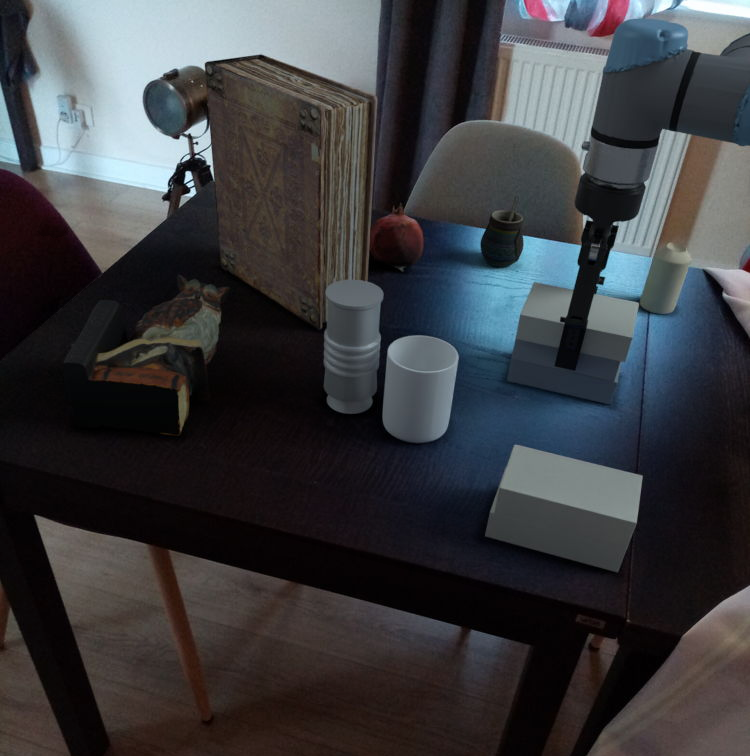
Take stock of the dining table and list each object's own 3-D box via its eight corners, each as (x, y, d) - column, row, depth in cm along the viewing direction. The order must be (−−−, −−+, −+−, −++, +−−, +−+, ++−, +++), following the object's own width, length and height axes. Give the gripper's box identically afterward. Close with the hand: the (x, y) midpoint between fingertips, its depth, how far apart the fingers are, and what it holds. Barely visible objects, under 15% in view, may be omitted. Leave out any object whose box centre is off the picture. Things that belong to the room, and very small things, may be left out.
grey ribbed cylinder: (339, 380, 104) (342, 274, 94) (385, 395, 102) (394, 289, 92) (312, 404, 99) (313, 296, 89) (360, 422, 97) (366, 312, 87)
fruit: (405, 281, 127) (410, 221, 120) (356, 265, 130) (359, 205, 124) (432, 262, 133) (439, 203, 126) (385, 247, 136) (389, 189, 130)
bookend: (55, 368, 86) (117, 250, 103) (80, 440, 94) (134, 319, 111) (188, 374, 86) (228, 255, 103) (202, 446, 94) (237, 324, 111)
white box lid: (632, 326, 105) (639, 302, 103) (625, 362, 98) (632, 337, 96) (529, 305, 108) (534, 281, 106) (515, 338, 101) (520, 314, 98)
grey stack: (616, 374, 109) (630, 330, 104) (610, 405, 103) (624, 359, 99) (518, 353, 112) (527, 308, 107) (506, 381, 106) (516, 335, 102)
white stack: (624, 523, 86) (643, 474, 81) (617, 572, 80) (636, 523, 75) (500, 490, 89) (511, 441, 84) (484, 536, 83) (495, 486, 78)
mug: (389, 387, 103) (395, 316, 97) (451, 394, 103) (462, 324, 96) (377, 440, 94) (383, 367, 88) (445, 449, 94) (456, 376, 87)
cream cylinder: (649, 315, 123) (669, 254, 116) (633, 299, 127) (651, 239, 120) (680, 313, 124) (701, 253, 118) (663, 297, 128) (682, 238, 121)
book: (366, 312, 118) (378, 96, 98) (319, 331, 113) (322, 107, 93) (266, 253, 132) (259, 52, 112) (220, 267, 127) (204, 60, 107)
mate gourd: (474, 266, 133) (482, 207, 126) (482, 249, 138) (491, 192, 131) (516, 274, 131) (527, 215, 125) (523, 256, 137) (534, 199, 130)
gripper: (593, 144, 99) (556, 305, 113) (567, 205, 82) (527, 384, 97) (653, 153, 97) (608, 315, 112) (639, 217, 81) (588, 397, 95)
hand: (571, 347), depth 104 cm, fingers closed on white box lid, 10 cm apart
